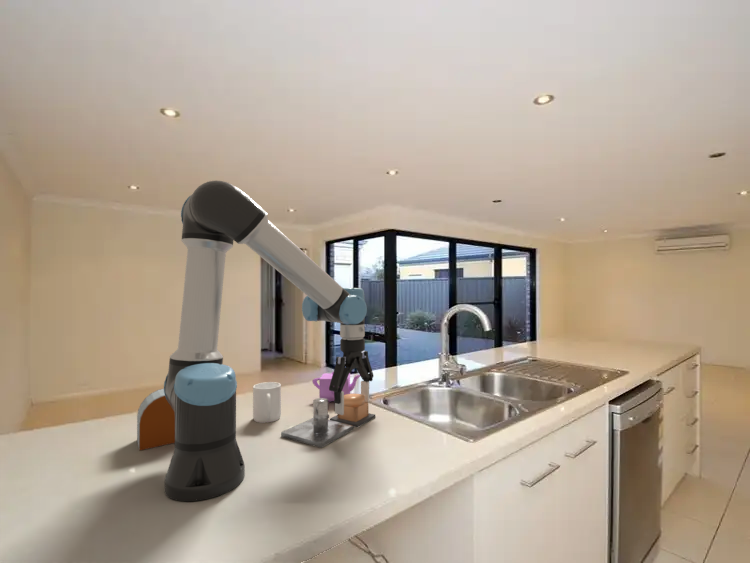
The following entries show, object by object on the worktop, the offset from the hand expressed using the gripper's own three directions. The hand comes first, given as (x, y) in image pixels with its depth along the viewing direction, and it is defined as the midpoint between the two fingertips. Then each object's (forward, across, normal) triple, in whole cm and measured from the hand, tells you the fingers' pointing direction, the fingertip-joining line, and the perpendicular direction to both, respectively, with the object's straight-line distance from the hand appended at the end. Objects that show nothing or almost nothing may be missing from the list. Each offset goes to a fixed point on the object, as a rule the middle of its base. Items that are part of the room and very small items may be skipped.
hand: (352, 407), depth 114 cm
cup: (+4, -14, +22) cm, 26 cm away
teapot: (+4, +13, +16) cm, 21 cm away
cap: (+3, 0, 0) cm, 3 cm away
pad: (+4, 0, 0) cm, 4 cm away
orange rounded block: (+4, -37, +34) cm, 50 cm away
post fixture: (+4, -14, +1) cm, 14 cm away
